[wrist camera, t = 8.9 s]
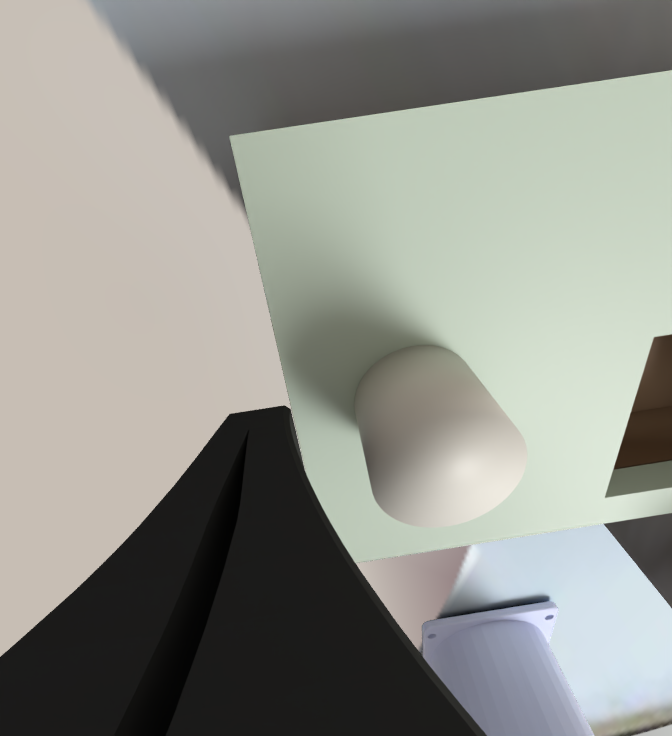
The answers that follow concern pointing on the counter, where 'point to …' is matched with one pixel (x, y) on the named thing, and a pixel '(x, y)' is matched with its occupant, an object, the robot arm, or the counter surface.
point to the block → (649, 548)
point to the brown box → (650, 411)
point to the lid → (469, 308)
